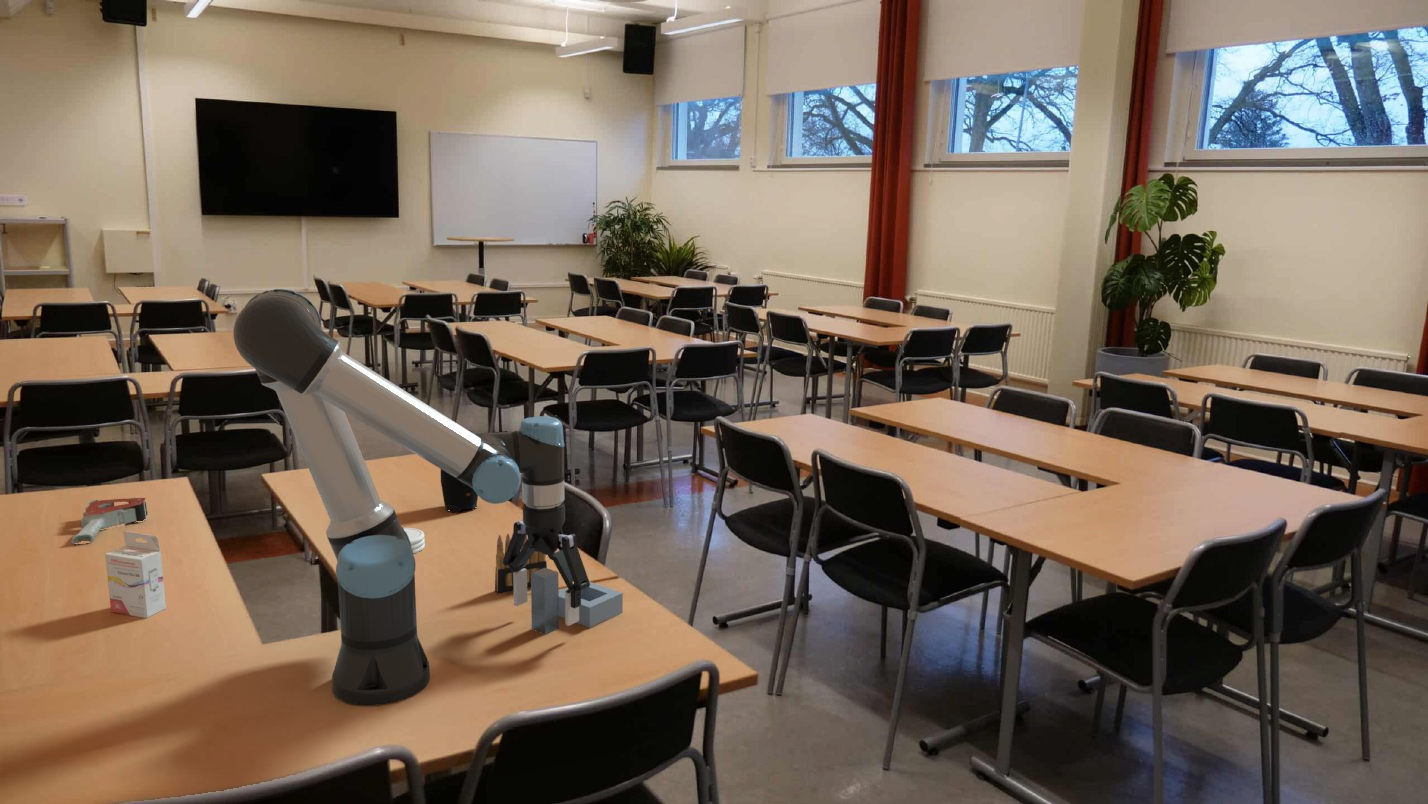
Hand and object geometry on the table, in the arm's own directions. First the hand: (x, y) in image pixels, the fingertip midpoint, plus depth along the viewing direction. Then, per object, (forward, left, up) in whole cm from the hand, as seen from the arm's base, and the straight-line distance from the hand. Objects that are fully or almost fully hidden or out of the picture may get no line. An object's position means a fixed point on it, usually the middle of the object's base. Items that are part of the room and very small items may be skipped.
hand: (546, 613), depth 185 cm
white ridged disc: (+8, +55, -4) cm, 56 cm away
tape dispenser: (-28, +118, -4) cm, 121 cm away
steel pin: (0, 0, -3) cm, 3 cm away
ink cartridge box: (-44, +64, -3) cm, 78 cm away
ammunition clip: (+10, +18, -3) cm, 21 cm away
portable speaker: (+35, +68, -3) cm, 77 cm away
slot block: (+10, -1, -3) cm, 10 cm away
